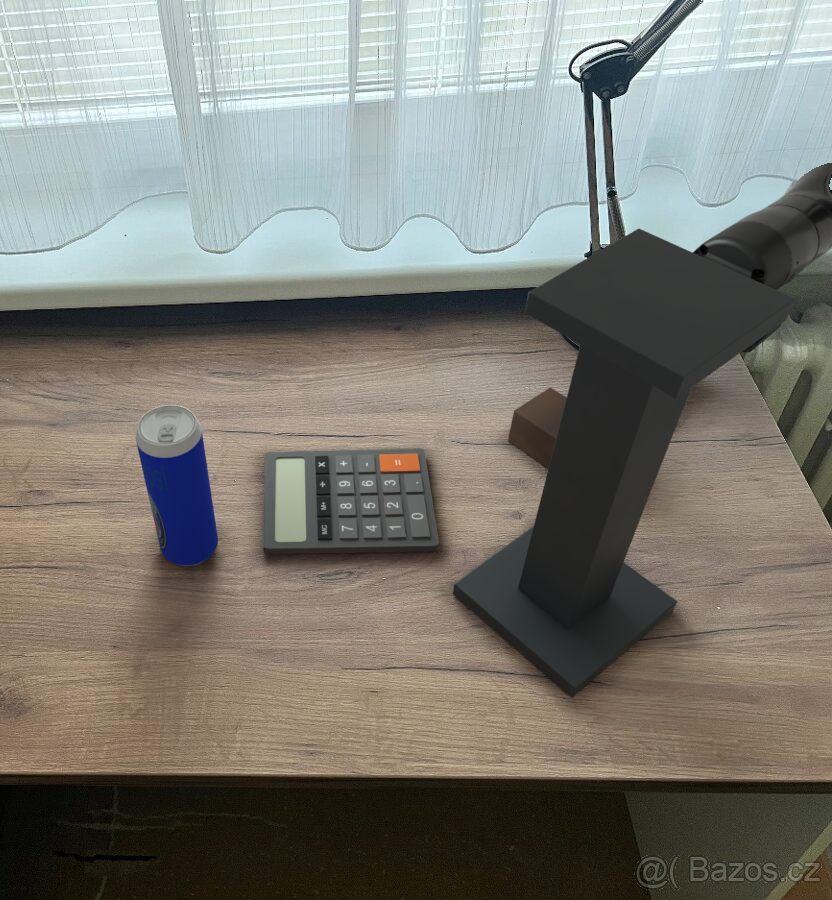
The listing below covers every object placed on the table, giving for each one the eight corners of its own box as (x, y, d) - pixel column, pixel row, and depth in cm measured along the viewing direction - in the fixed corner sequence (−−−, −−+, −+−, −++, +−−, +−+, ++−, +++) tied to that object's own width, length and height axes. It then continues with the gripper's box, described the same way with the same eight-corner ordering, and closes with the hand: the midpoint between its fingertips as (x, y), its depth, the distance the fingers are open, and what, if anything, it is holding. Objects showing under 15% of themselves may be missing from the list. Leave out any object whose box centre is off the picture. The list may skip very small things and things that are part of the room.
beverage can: (163, 525, 80) (137, 403, 69) (219, 523, 79) (202, 400, 68) (158, 570, 76) (130, 449, 65) (217, 569, 75) (198, 447, 65)
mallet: (705, 396, 86) (718, 364, 83) (576, 488, 79) (585, 458, 76) (634, 356, 90) (644, 326, 88) (507, 441, 83) (513, 410, 81)
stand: (672, 612, 69) (824, 299, 48) (571, 698, 65) (689, 396, 43) (550, 522, 76) (635, 215, 55) (452, 594, 72) (502, 291, 51)
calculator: (439, 544, 74) (262, 547, 75) (438, 551, 75) (263, 553, 76) (424, 446, 82) (265, 450, 84) (423, 453, 83) (265, 457, 84)
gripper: (698, 194, 86) (589, 258, 80) (844, 254, 77) (735, 330, 71) (676, 260, 91) (573, 324, 85) (811, 322, 82) (707, 398, 76)
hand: (647, 327), depth 78 cm, fingers open, 8 cm apart
